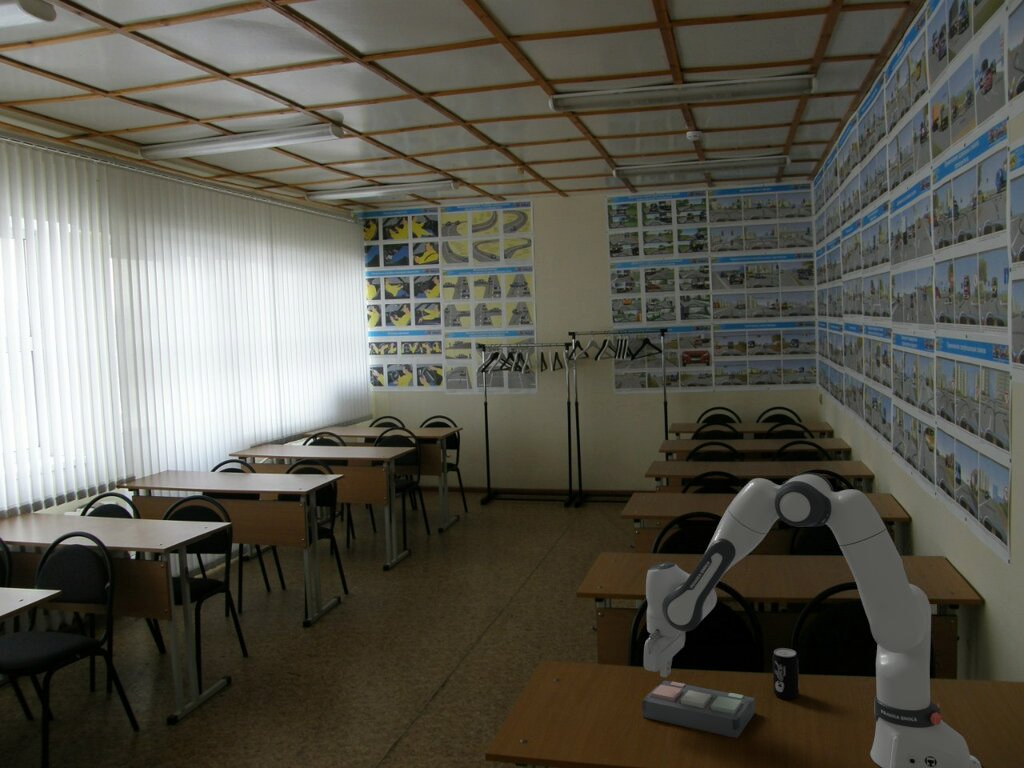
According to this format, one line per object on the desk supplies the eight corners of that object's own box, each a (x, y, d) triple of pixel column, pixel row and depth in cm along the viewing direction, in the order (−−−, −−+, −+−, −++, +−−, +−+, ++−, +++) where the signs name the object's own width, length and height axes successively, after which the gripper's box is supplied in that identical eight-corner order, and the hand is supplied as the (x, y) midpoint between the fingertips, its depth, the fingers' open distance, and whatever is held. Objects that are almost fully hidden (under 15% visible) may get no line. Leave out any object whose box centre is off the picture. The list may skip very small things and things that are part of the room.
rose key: (682, 695, 218) (681, 688, 218) (673, 705, 213) (673, 697, 213) (661, 691, 222) (660, 684, 222) (652, 700, 217) (651, 693, 217)
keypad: (754, 712, 214) (754, 696, 214) (737, 738, 202) (736, 720, 201) (664, 694, 228) (664, 678, 228) (642, 717, 215) (642, 700, 215)
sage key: (741, 708, 210) (741, 700, 210) (734, 717, 205) (734, 710, 205) (718, 703, 213) (718, 695, 213) (711, 712, 208) (710, 705, 208)
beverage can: (800, 701, 220) (799, 657, 219) (775, 700, 221) (773, 656, 220) (797, 690, 226) (796, 647, 225) (772, 689, 227) (771, 647, 227)
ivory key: (711, 701, 214) (711, 694, 214) (703, 711, 209) (703, 703, 209) (689, 697, 217) (689, 690, 217) (681, 706, 212) (680, 699, 212)
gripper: (659, 639, 206) (661, 693, 207) (688, 614, 223) (690, 663, 224) (636, 635, 209) (638, 688, 210) (667, 610, 227) (668, 659, 228)
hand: (665, 675), depth 217 cm, fingers closed
